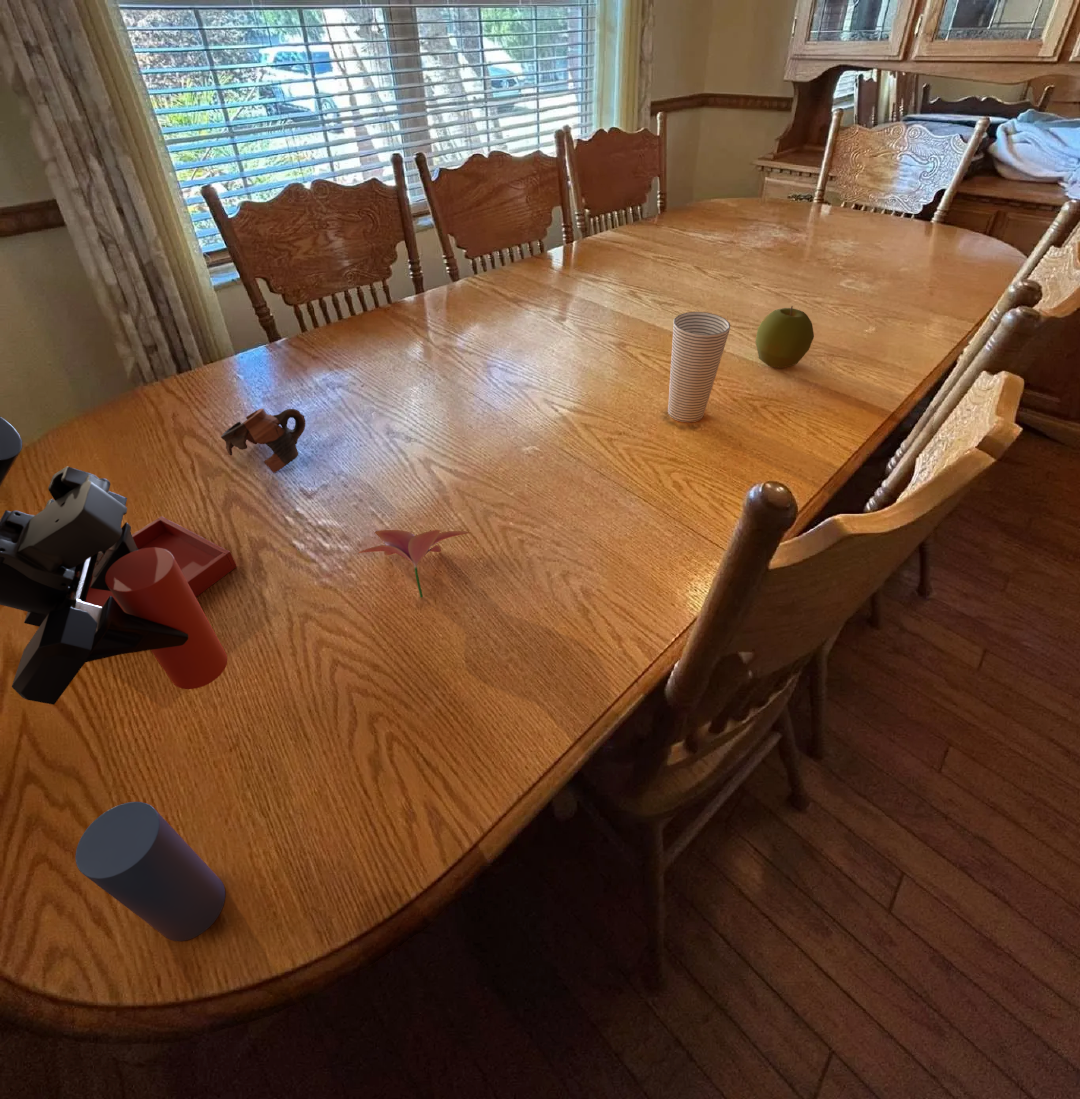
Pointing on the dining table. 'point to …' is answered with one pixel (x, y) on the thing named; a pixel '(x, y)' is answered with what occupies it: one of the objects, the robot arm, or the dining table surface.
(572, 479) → the dining table surface
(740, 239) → the dining table surface
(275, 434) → the brown irregular piece
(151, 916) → the blue pin
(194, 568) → the red tray
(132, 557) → the red pin
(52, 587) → the robot arm
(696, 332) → the cup
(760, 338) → the apple
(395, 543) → the lily
